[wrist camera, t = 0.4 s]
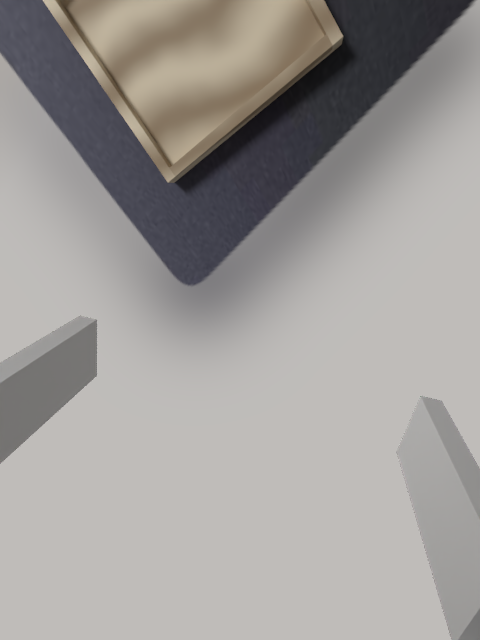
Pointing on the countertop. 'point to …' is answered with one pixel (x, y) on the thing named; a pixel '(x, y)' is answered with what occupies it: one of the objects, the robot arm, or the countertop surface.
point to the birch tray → (195, 64)
